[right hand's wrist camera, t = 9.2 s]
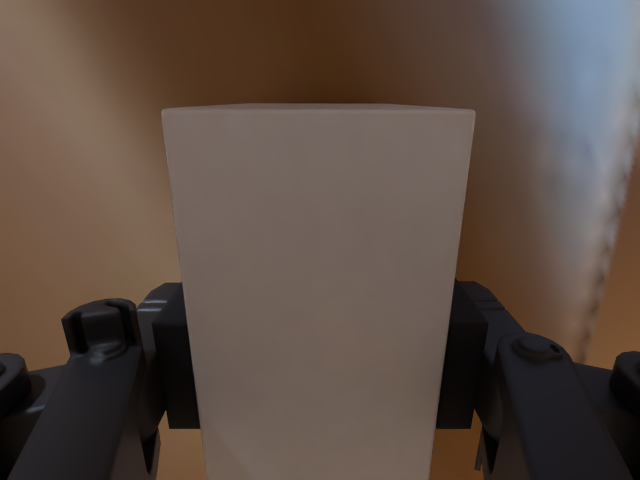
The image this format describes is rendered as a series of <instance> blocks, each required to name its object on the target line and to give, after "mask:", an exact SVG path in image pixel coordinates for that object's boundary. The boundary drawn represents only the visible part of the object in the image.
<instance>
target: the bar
mask: <svg viewBox="0 0 640 480" xmlns="http://www.w3.org/2000/svg"><path fill="white" fill-rule="evenodd" d="M161 118H162V126H163V134H164V142H165V150H166V158H167V166H168V174H169V182H170V190H171V198H172V206H173V214H174V222H175V229H176V237H177V245H178V253H179V261H180V269H181V277H182V285H183V293H184V301H185V309H186V317H187V325H188V333H189V341H190V349H191V357H192V365H193V373H194V381H195V389H196V397H197V405H198V412H199V420H200V428H201V436H202V444H203V452H204V460H205V468H206V476H207V480H429V473H430V466H431V458H432V450H433V442H434V435H435V427H436V419H437V412H438V404H439V396H440V388H441V381H442V373H443V365H444V358H445V350H446V342H447V334H448V327H449V319H450V311H451V304H452V296H453V288H454V280H455V273H456V265H457V257H458V250H459V242H460V234H461V226H462V219H463V211H464V203H465V196H466V188H467V180H468V172H469V165H470V157H471V149H472V142H473V134H474V126H475V118H476V114H475V111H474V110H471V109H459V108H444V107H429V106H415V105H400V104H337V103H244V104H228V105H211V106H195V107H179V108H166V109H163V110H162V112H161Z"/></svg>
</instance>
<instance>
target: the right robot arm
mask: <svg viewBox="0 0 640 480" xmlns="http://www.w3.org/2000/svg"><path fill="white" fill-rule="evenodd" d="M61 321H62V325H63V328H64V332H65V336H66V340H67V344H68V348H69V351H70V355H71V356H70V358H69V360H68V362H67V364H65V365H61V366H56V367H51V368H46V369H41V370H35V371H30V372H28V370H27V367H26V363H25V360H24V358H22V357H21V356H20V355H18V354H11V353H3V354H0V480H156V475H157V467H158V460H159V452H160V444H161V442H160V435H159V430H158V425H159V423H160V421H161V418H162V416H163V414H164V412H165V410H166V412H167V418H168V424H169V429H201V428H200V420H199V412H198V405H197V397H196V389H195V381H194V373H193V365H192V357H191V349H190V341H189V333H188V325H187V317H186V309H185V301H184V293H183V285H182V282H181V283H164V284H163V285H161V286H159V287H157V288H156V289H154V290H152V291H151V292H150V293H149V294H148V295H147V297H146V298H145V299H144V300H143V303H141V304H140V305H139V306H138V307H137V308H136V304H134V303H133V302H131V301H130V300H125V299H120V298H117V299H104V300H99V301H93V302H90V303H88V304H85V305H82V306H79V307H77V308H76V309H74V310H72V311H70V312H68V313H67V314H66V315H65V316H64V317H63V318H62V319H61ZM474 408H475V410H476V412H477V414H478V416H479V418H480V421H481V423H482V430H481V435H480V441H479V446H478V452H477V457H476V463H475V470H480V468H481V463H482V466H483V474H484V480H640V352H637V351H631V352H623V353H621V354H620V355H618V356H617V357H616V360H615V363H614V367H613V370H609V369H604V368H598V367H593V366H588V365H583V364H578V363H574V362H573V361H572V359H571V357H570V356H569V354H568V353H567V352H566V351H565V350H564V348H563V347H561V346H560V345H558V344H557V343H555V342H554V341H552V340H550V339H547V338H545V337H542V336H540V335H536V334H532V333H527V332H525V331H524V330H523V329H522V327H521V326H520V325H519V324H518V323H517V322H516V320H515V319H514V318H513V317H512V316H511V315H510V313H509V312H508V311H507V310H505V308H504V307H503V305H502V304H501V303H500V302H498V300H497V298H496V297H495V296H494V295H493V294H492V293H491V291H490V290H488V289H487V288H485V287H483V286H482V285H480V284H478V283H476V282H458V281H457V279H456V278H455V280H454V288H453V296H452V304H451V311H450V319H449V327H448V334H447V342H446V350H445V358H444V365H443V373H442V381H441V388H440V396H439V404H438V412H437V419H436V428H437V429H471V424H472V418H473V412H474Z"/></svg>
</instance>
